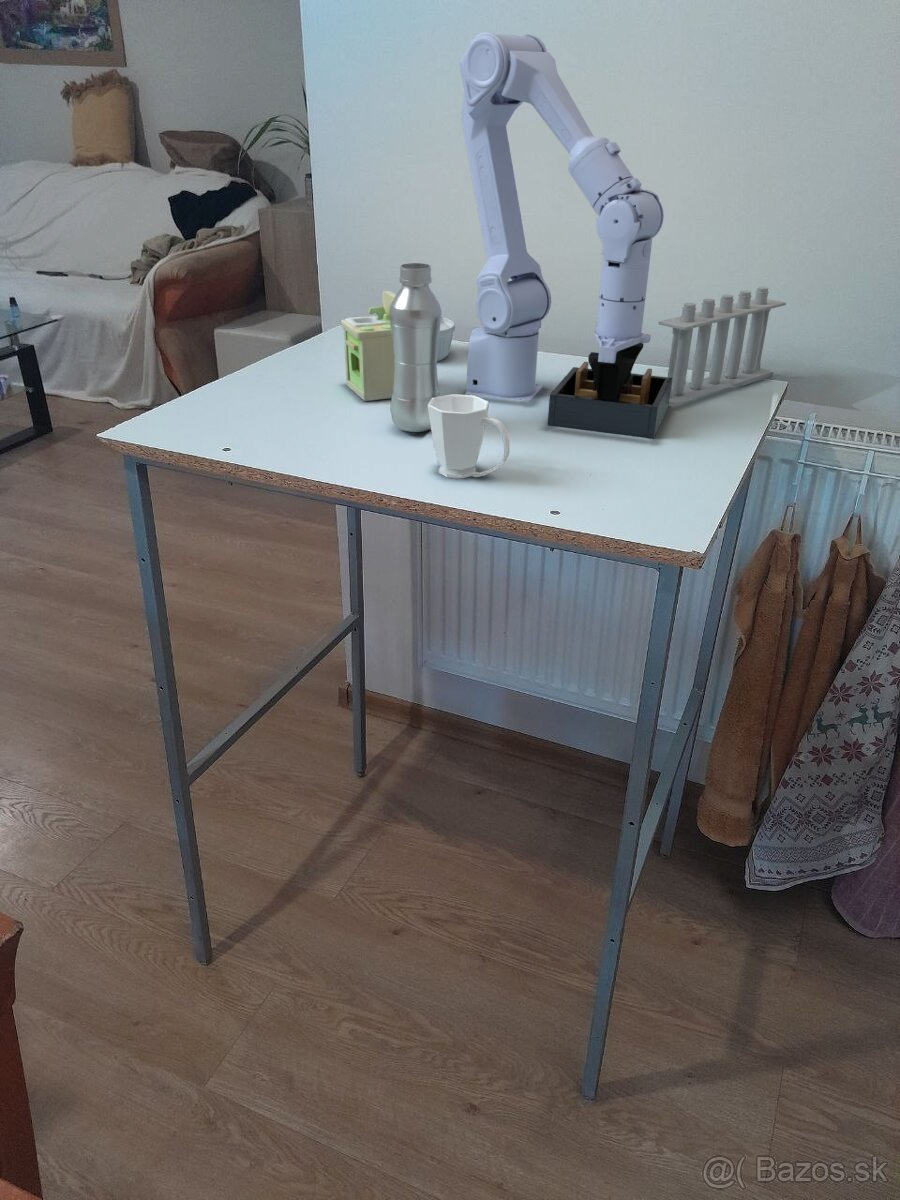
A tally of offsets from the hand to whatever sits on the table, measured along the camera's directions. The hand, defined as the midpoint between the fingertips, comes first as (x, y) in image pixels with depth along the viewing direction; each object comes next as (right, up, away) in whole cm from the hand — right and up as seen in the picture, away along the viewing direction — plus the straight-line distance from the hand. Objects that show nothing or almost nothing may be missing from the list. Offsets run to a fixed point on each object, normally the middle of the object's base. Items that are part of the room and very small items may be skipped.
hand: (611, 403), depth 124 cm
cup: (-19, -12, -16) cm, 28 cm away
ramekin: (-26, +13, +27) cm, 40 cm away
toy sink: (-32, +4, +11) cm, 34 cm away
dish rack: (0, -1, +1) cm, 2 cm away
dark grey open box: (0, -2, +1) cm, 2 cm away
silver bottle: (-26, -4, -3) cm, 26 cm away
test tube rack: (+17, +5, +14) cm, 23 cm away
